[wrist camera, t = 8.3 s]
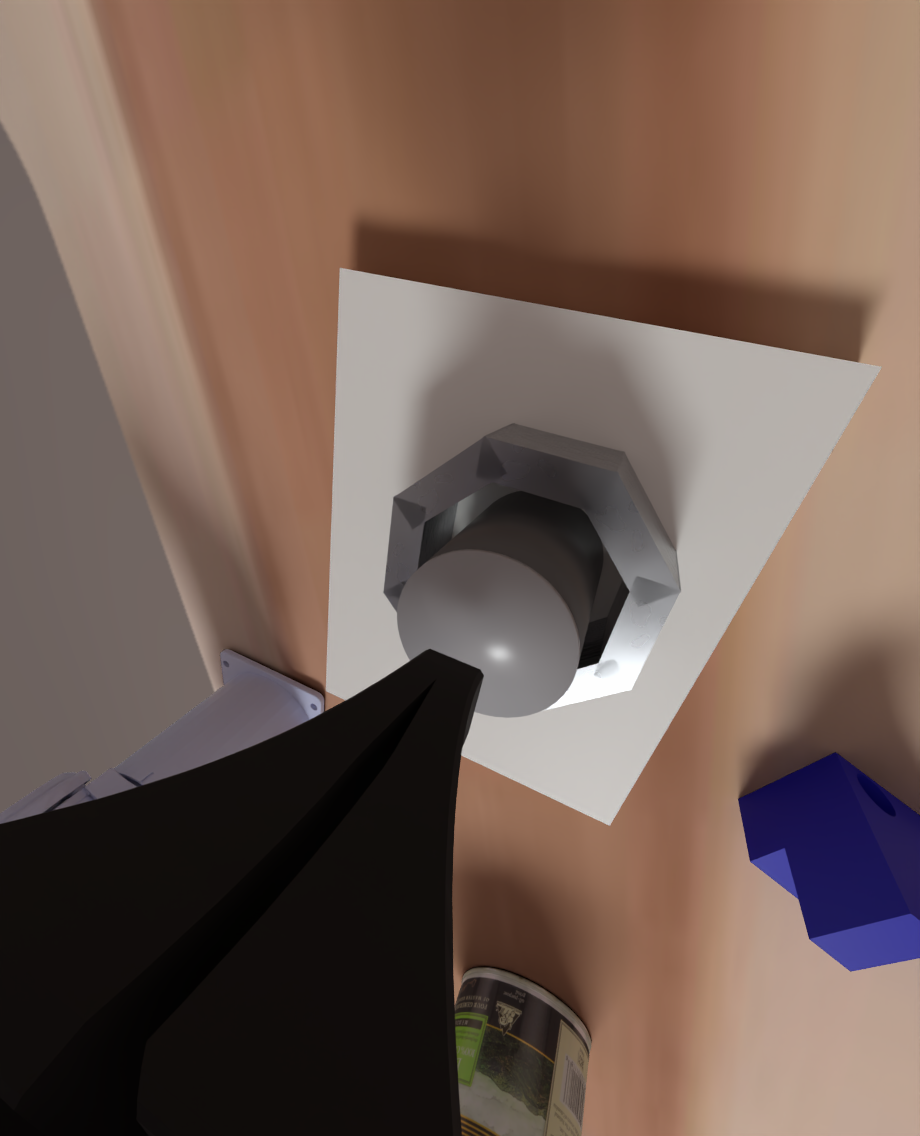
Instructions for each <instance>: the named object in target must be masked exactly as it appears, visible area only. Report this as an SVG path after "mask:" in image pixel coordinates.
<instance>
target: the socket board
mask: <svg viewBox="0 0 920 1136" xmlns="http://www.w3.org/2000/svg"><path fill="white" fill-rule="evenodd" d="M881 368H882V367H880V366H874V365H869V364H863V363H858V362H853V361H847V360H842V359H836V358H831V357H825V356H820V355H814V354H809V353H803V352H798V351H792V350H787V349H781V348H776V347H770V346H765V345H759V344H754V343H749V342H743V341H738V340H732V339H727V338H721V337H716V336H710V335H705V334H699V333H694V332H688V331H683V330H677V329H672V328H666V327H661V326H655V325H650V324H645V323H639V322H634V321H628V320H623V319H617V318H612V317H606V316H601V315H595V314H590V313H584V312H579V311H573V310H568V309H562V308H557V307H551V306H546V305H541V304H535V303H530V302H524V301H519V300H513V299H508V298H502V297H497V296H491V295H486V294H480V293H475V292H469V291H464V290H458V289H453V288H447V287H442V286H437V285H431V284H426V283H420V282H415V281H409V280H404V279H398V278H393V277H387V276H382V275H376V274H371V273H365V272H360V271H354V270H349V269H343V268H340V281H339V311H338V341H337V371H336V401H335V432H334V462H333V492H332V522H331V553H330V583H329V613H328V643H327V673H326V691H327V692H329V693H331V694H333V695H335V696H338V697H340V698H342V699H344V700H347V699H349V698H351V697H353V696H354V695H356V694H358V693H359V692H361V691H363V690H364V689H366V688H368V687H369V686H371V685H373V684H374V683H376V682H378V681H379V680H381V679H383V678H384V677H386V676H387V675H389V674H391V673H392V672H394V671H395V670H397V669H398V668H400V667H401V666H403V665H404V664H406V663H407V662H409V661H410V660H409V658H408V656H407V654H406V652H405V650H404V648H403V645H402V642H401V639H400V636H399V631H398V625H397V607H398V602H399V598H400V595H401V592H402V590H403V588H404V586H405V584H406V582H407V581H408V579H409V578H410V577H411V576H412V575H413V573H414V572H416V571H417V570H418V569H419V568H420V567H421V566H422V565H423V564H425V563H426V562H427V561H428V560H429V559H430V558H431V557H432V556H434V555H435V554H436V553H437V552H438V551H439V550H440V549H441V548H443V547H444V546H445V545H446V544H447V543H448V542H449V541H450V540H452V539H453V538H454V537H455V536H456V535H457V534H458V533H459V532H461V531H462V530H463V529H464V528H465V527H466V526H467V525H468V524H470V523H471V522H472V521H473V520H474V519H475V518H476V517H477V516H479V515H480V514H481V513H482V512H483V511H484V510H485V509H486V508H488V507H489V506H490V505H491V504H492V503H493V502H495V501H496V500H498V499H499V498H501V497H503V496H505V495H507V494H510V493H513V492H516V491H524V492H527V493H531V494H534V495H537V496H541V497H544V498H547V499H551V500H554V501H557V502H561V503H564V504H568V505H571V506H574V507H578V508H581V509H582V510H583V511H584V512H585V513H586V514H587V516H588V517H589V519H590V521H591V522H592V524H593V526H594V528H595V530H596V531H597V533H598V535H599V537H600V539H601V542H602V547H603V567H602V572H601V576H600V580H599V584H598V588H597V592H596V596H595V600H594V604H593V608H592V612H591V616H590V620H589V624H588V628H587V632H586V636H585V640H584V644H583V648H582V652H581V656H580V660H579V664H578V668H577V671H576V674H575V678H574V680H573V682H572V684H571V686H570V687H569V689H568V690H567V691H566V693H565V694H564V695H563V696H562V697H561V698H560V699H559V700H558V701H557V702H556V703H554V704H553V705H551V706H550V707H548V708H547V709H545V710H542V711H540V712H538V713H535V714H532V715H528V716H522V717H512V718H504V717H494V716H488V715H483V714H480V713H476V712H474V715H473V718H472V722H471V726H470V729H469V733H468V735H467V738H466V740H465V743H464V745H463V748H462V754H461V755H462V756H464V757H466V758H468V759H470V760H472V761H474V762H477V763H479V764H481V765H483V766H485V767H487V768H489V769H491V770H493V771H495V772H498V773H500V774H502V775H504V776H506V777H508V778H510V779H512V780H514V781H517V782H519V783H521V784H523V785H525V786H527V787H529V788H531V789H533V790H535V791H538V792H540V793H542V794H544V795H546V796H548V797H550V798H552V799H554V800H557V801H559V802H561V803H563V804H565V805H567V806H569V807H571V808H573V809H575V810H578V811H580V812H582V813H584V814H586V815H588V816H590V817H592V818H594V819H597V820H599V821H601V822H603V823H605V824H607V825H609V826H610V824H611V822H612V821H613V819H614V817H615V816H616V814H617V812H618V811H619V809H620V807H621V806H622V804H623V802H624V801H625V799H626V797H627V795H628V794H629V792H630V790H631V789H632V787H633V785H634V784H635V782H636V780H637V779H638V777H639V775H640V774H641V772H642V770H643V769H644V767H645V765H646V763H647V762H648V760H649V758H650V757H651V755H652V753H653V752H654V750H655V748H656V747H657V745H658V743H659V742H660V740H661V738H662V737H663V735H664V733H665V731H666V730H667V728H668V726H669V725H670V723H671V721H672V720H673V718H674V716H675V715H676V713H677V711H678V710H679V708H680V706H681V705H682V703H683V701H684V699H685V698H686V696H687V694H688V693H689V691H690V689H691V688H692V686H693V684H694V683H695V681H696V679H697V678H698V676H699V674H700V673H701V671H702V669H703V667H704V666H705V664H706V662H707V661H708V659H709V657H710V656H711V654H712V652H713V651H714V649H715V647H716V646H717V644H718V642H719V641H720V639H721V637H722V635H723V634H724V632H725V630H726V629H727V627H728V625H729V624H730V622H731V620H732V619H733V617H734V615H735V614H736V612H737V610H738V609H739V607H740V605H741V603H742V602H743V600H744V598H745V597H746V595H747V593H748V592H749V590H750V588H751V587H752V585H753V583H754V582H755V580H756V578H757V577H758V575H759V573H760V571H761V570H762V568H763V566H764V565H765V563H766V561H767V560H768V558H769V556H770V555H771V553H772V551H773V550H774V548H775V546H776V545H777V543H778V541H779V539H780V538H781V536H782V534H783V533H784V531H785V529H786V528H787V526H788V524H789V523H790V521H791V519H792V518H793V516H794V514H795V513H796V511H797V509H798V508H799V506H800V504H801V502H802V501H803V499H804V497H805V496H806V494H807V492H808V491H809V489H810V487H811V486H812V484H813V482H814V481H815V479H816V477H817V476H818V474H819V472H820V470H821V469H822V467H823V465H824V464H825V462H826V460H827V459H828V457H829V455H830V454H831V452H832V450H833V449H834V447H835V445H836V444H837V442H838V440H839V438H840V437H841V435H842V433H843V432H844V430H845V428H846V427H847V425H848V423H849V422H850V420H851V418H852V417H853V415H854V413H855V412H856V410H857V408H858V406H859V405H860V403H861V401H862V400H863V398H864V396H865V395H866V393H867V391H868V390H869V388H870V386H871V385H872V383H873V381H874V380H875V378H876V376H877V374H878V373H879V371H880V369H881Z"/></svg>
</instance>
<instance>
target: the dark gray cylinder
mask: <svg viewBox="0 0 920 1136" xmlns="http://www.w3.org/2000/svg"><path fill="white" fill-rule="evenodd" d="M602 567H603V547H602V542H601V539H600V537H599V535H598V533H597V531H596V530H595V528H594V526H593V524H592V522H591V521H590V519H589V517H588V516H587V514H586V513H585V512H584V511H583V510H582V509H581V508H578V507H574V506H571V505H568V504H564V503H561V502H557V501H554V500H551V499H547V498H544V497H541V496H537V495H534V494H531V493H527V492H524V491H516V492H513V493H510V494H507V495H505V496H503V497H501V498H499V499H498V500H496V501H495V502H493V503H492V504H491V505H490V506H489V507H488V508H486V509H485V510H484V511H483V512H482V513H481V514H480V515H479V516H477V517H476V518H475V519H474V520H473V521H472V522H471V523H470V524H468V525H467V526H466V527H465V528H464V529H463V530H462V531H461V532H459V533H458V534H457V535H456V536H455V537H454V538H453V539H452V540H450V541H449V542H448V543H447V544H446V545H445V546H444V547H443V548H441V549H440V550H439V551H438V552H437V553H436V554H435V555H434V556H432V557H431V558H430V559H429V560H428V561H427V562H426V563H425V564H423V565H422V566H421V567H420V568H419V569H418V570H417V571H416V572H414V573H413V575H412V576H411V577H410V578H409V579H408V581H407V582H406V584H405V586H404V588H403V590H402V592H401V595H400V598H399V602H398V607H397V625H398V631H399V636H400V639H401V642H402V645H403V648H404V650H405V652H406V654H407V656H408V658H409V660H412V659H413V658H415V657H416V656H418V655H419V654H421V653H422V652H424V651H425V650H428V649H432V650H435V651H437V652H440V653H442V654H444V655H447V656H449V657H452V658H454V659H456V660H459V661H461V662H464V663H466V664H469V665H471V666H473V667H476V668H478V669H481V671H482V673H483V675H484V678H483V681H482V685H481V689H480V693H479V696H478V700H477V704H476V707H475V711H474V712H476V713H480V714H483V715H488V716H494V717H504V718H512V717H522V716H528V715H532V714H535V713H538V712H540V711H542V710H545V709H547V708H548V707H550V706H551V705H553V704H554V703H556V702H557V701H558V700H559V699H560V698H561V697H562V696H563V695H564V694H565V693H566V691H567V690H568V689H569V687H570V686H571V684H572V682H573V680H574V678H575V674H576V671H577V668H578V664H579V660H580V656H581V652H582V648H583V644H584V640H585V636H586V632H587V628H588V624H589V620H590V616H591V612H592V608H593V604H594V600H595V596H596V592H597V588H598V584H599V580H600V576H601V572H602Z"/></svg>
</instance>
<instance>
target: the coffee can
mask: <svg viewBox="0 0 920 1136" xmlns="http://www.w3.org/2000/svg"><path fill="white" fill-rule="evenodd" d="M455 1030H456V1049H457V1066H458V1084H459V1100H460V1114H461V1128H462V1136H581V1134H582V1124H583V1113H584V1102H585V1092H586V1081H587V1071H588V1062H589V1053H590V1049H591V1039H590V1036H589V1033H588V1031H587V1029H586V1027H585V1026H584V1024H583V1023H582V1021H581V1020H580V1019H579V1018H578V1017H577V1016H576V1014H575V1013H574V1012H573V1011H572V1010H571V1009H569V1008H568V1007H567V1006H566V1005H565V1004H564V1003H563V1002H561V1001H560V1000H559V999H558V998H556V997H555V996H554V995H552V994H551V993H549V992H548V991H546V990H545V989H543V988H542V987H540V986H538V985H536V984H535V983H533V982H531V981H529V980H527V979H525V978H523V977H520V976H518V975H516V974H513V973H511V972H507V971H504V970H500V969H496V968H490V967H476V968H472V969H470V970H469V971H467V972H466V973H465V974H464V976H463V978H462V985H461V988H460V991H459V995H458V998H457V1001H456V1004H455Z"/></svg>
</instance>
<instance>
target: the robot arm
mask: <svg viewBox="0 0 920 1136" xmlns="http://www.w3.org/2000/svg"><path fill="white" fill-rule="evenodd" d="M220 658H221V666H222V674H223V682H224V686H222V687H221V688H220V689H218V690H217V691H216V692H214V693H213V694H212V695H210V696H209V697H208V698H206V699H205V700H204V701H202V702H201V703H200V704H198V705H197V706H196V707H194V708H193V709H192V710H191V711H190V712H188V713H187V714H185V715H184V716H183V717H181V718H180V719H179V720H177V721H176V722H175V723H173V724H172V725H171V726H169V727H168V728H167V729H166V730H164V731H163V732H161V733H160V734H159V735H157V736H156V737H155V738H153V739H152V740H151V741H149V742H148V743H147V744H146V745H144V746H143V747H142V748H140V749H139V750H138V751H136V752H135V753H134V754H132V755H131V756H130V757H128V758H127V759H126V760H125V761H123V762H122V763H121V764H119V765H118V766H117V767H115V768H109V769H108V770H107V771H105V772H104V773H103V774H101V775H100V776H99V777H98V778H96V779H95V780H94V781H92V782H91V783H89V784H88V785H87V786H85V784H86V783H87V782H88V781H89V780H90V779H91V777H90V776H89V774H88V773H87V772H86V771H79V772H77V773H75V772H67V773H62V774H60V775H58V776H56V777H55V778H53V779H51V780H49V781H48V782H46V783H45V784H43V785H41V786H40V787H39V788H37V789H36V790H34V791H33V792H31V793H29V794H28V795H26V796H25V797H23V798H22V799H20V800H19V801H17V802H16V803H15V804H13V805H12V806H10V807H9V808H7V809H6V810H4V811H3V812H2V813H0V1136H462V1128H461V1114H460V1100H459V1084H458V1066H457V1049H456V1030H455V1005H454V980H453V918H452V881H453V845H454V824H455V809H456V797H457V787H458V776H459V768H460V760H461V754H462V748H463V745H464V743H465V740H466V738H467V735H468V733H469V729H470V726H471V722H472V718H473V715H474V711H475V707H476V704H477V700H478V696H479V693H480V689H481V685H482V681H483V678H484V675H483V673H482V671H481V669H478V668H476V667H473V666H471V665H469V664H466V663H464V662H461V661H459V660H456V659H454V658H452V657H449V656H447V655H444V654H442V653H440V652H437V651H435V650H432V649H428V650H425V651H424V652H422V653H421V654H419V655H418V656H416V657H415V658H413V659H412V660H410V661H409V662H407V663H406V664H404V665H403V666H401V667H400V668H398V669H397V670H395V671H394V672H392V673H391V674H389V675H387V676H386V677H384V678H383V679H381V680H379V681H378V682H376V683H374V684H373V685H371V686H369V687H368V688H366V689H364V690H363V691H361V692H359V693H358V694H356V695H354V696H353V697H351V698H349V699H347V700H346V701H344V702H342V703H340V704H338V705H336V706H334V707H333V708H331V709H329V710H327V711H325V712H324V698H323V696H322V695H321V693H319V692H317V691H315V690H313V689H311V688H309V687H307V686H305V685H303V684H301V683H298V682H296V681H294V680H292V679H290V678H288V677H286V676H284V675H282V674H280V673H278V672H275V671H273V670H271V669H269V668H267V667H265V666H263V665H261V664H259V663H257V662H255V661H252V660H250V659H248V658H246V657H244V656H242V655H240V654H238V653H236V652H234V651H232V650H229V649H225V650H223V651H222V652H221V653H220Z"/></svg>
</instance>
